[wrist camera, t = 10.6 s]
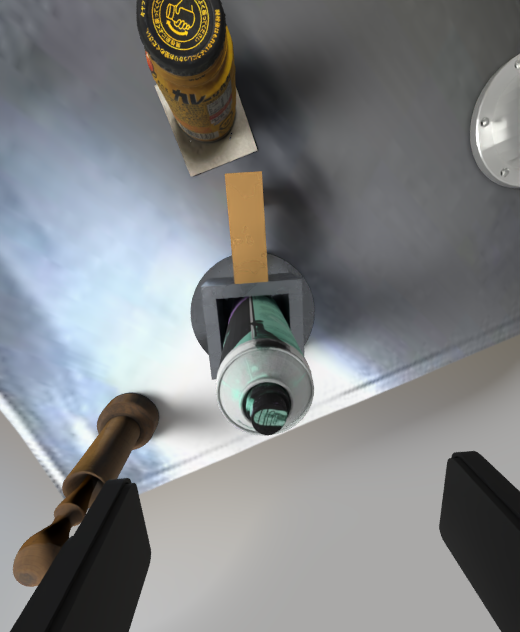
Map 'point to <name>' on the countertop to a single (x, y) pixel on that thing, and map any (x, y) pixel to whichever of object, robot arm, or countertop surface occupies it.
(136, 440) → the brown wooden tall piece
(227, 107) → the condiment
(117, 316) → the countertop surface
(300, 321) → the grey square saucepan
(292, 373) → the spray can
